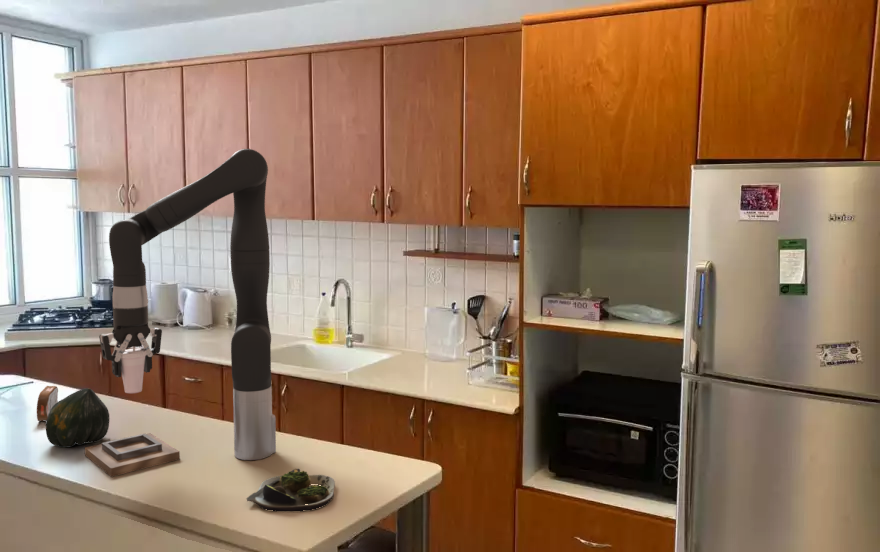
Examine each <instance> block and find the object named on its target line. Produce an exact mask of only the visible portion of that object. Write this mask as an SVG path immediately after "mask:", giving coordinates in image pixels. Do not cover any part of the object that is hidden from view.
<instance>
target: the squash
mask: <svg viewBox="0 0 880 552" xmlns="http://www.w3.org/2000/svg"><path fill="white" fill-rule="evenodd" d="M109 427H110V412H109V409H108V407H107V406H106V404H105V403H104V402H103V401H102V400H101V398H100V397H99V396H98V394H97V393H96V392H95V391H94V390H93V389H91V388H90V387H87V388H82V389H79V390H76V391H75V392H73V393H71V394H68V396H66V397H63V399H61V400H59V401H58V402H57V403H56V404H55V405H54V406H53V407H52V408H51V410H50V412H49V415H48V418H47V420H46V421H45V433H46V437H47V440H48V442H49V443H50V444H51V445H53V446H55V447H64V448H71V447H74V445H79V446H80V445H83V444H89V443H95V442H99V441H101V440H103V439H104V438H105V436H106V435H107V433H108V432H109V429H110V428H109Z"/></svg>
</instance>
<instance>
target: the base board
mask: <svg viewBox="0 0 880 552" xmlns="http://www.w3.org/2000/svg"><path fill="white" fill-rule="evenodd" d="M84 455H85V457H86V458H88V459H89V460H90V461H92V462H93V463H94V464H95V465H96V466H98V467H99V468H100V469H101V470H102V471H103V472H105V473H106V474H107V475H108V476H110V477H115V476H120V475H123V474H128V473H131V472H134V471H138V470H143V469H147V468H150V467H151V468H152V467H155V466H158V465H162V464H166V463H170V462H174V461H178V460H180V459H181V456H180V455H181V452H180V450H178V449H177V448H175V447H173V446H172V445H170V444H169V443H167V442H165V441H164V440H162V439H161V438H159V437H157V436H155V435H154V434H153V433H151V432H149V433H140V434H136V435H132V436H126V437H123V438H118V439H114V440H110V441H105V442H102V443H100V444H95V445H90V446H86V447H84Z"/></svg>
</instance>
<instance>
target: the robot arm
mask: <svg viewBox="0 0 880 552" xmlns="http://www.w3.org/2000/svg"><path fill="white" fill-rule="evenodd" d="M268 172H269V166H268V163H267V160H266V158H265V157H264V156H263V155H262V153H260V152H259V151H257V150H255V149H252V148H242V149H239V150H237V151H235V152H234V153H233V154H232V155H231V156H230V157H229V158H227V160H225V161H224V162H222V163H221V165H219V166H218V167H216V168H215V169H214V170H212V171H211V172H209V173H208V174H205V176H203V177H201V178H199V179H198V180H195V181H194V182H192V183H189V184H187V185H185V186H184V187H182V188H179V189H178V190H175V191H174V192H171V193H170V194H168V195H166V196H164V197H162V198H161V199H158V200H157V201H154V202H153V203H152V204H150V205H149V206H148V207H147V208H146V209H145V210H142V211H140V212H138V213H137V214H135V215H132V216H131V217H129V218H126V219H124V220H118V221H117V222H115V223H114V224H113V225H112V226H111V227H110V229H109V235H108V243H109V250H110V256H111V262H112V266H113V267H112V268H113V269H112V283H113V285H112V286H113V287H112V315H113V317H112V318H113V323H112V325H113V329H112V332H110V333H101V334H99V343H100V349H101V355H102V358H103V359H104V360H107V361H111V369H112V370H111V372H112V374H113V375H114V376H115V377H116V378H122V372H121V362H120V358H121V356H122V355H121V354H123V353H124V352H125V350H126V349H132V348H133V347H135V348H138V349H141V350H142V349H143V350H144V351H146V353H147V355H146V356H145V364H144V373H150V372H151V370H152V369H153V356H155V355H156V354H159V353H160V352H161V346H162V345H161V343H162V335H163V329H162V328H158V327H153V328H150V327H149V297H148V290H147V274H146V266H145V262H144V261H143V245H145V244H146V243H148V242H150V241H151V240H153V239H155V238H156V237H158V236H159V235H161V234H162V233H164V232H167V231H169V230H171V229H173V228H175V227H177V226H179V225H180V224H182V223H184V222H185V221H187V220H189V219H190V218H193V217H194V216H196V215H197V214H198V213H200V212H202V211H203V210H204V209H206V208H207V207H209V206H210V205H212V204H214V203H215V202H217V201H219V200H220V199H223V198H225V197H226V196H229V195H233V204H234V205H233V217H232V224H231V230H230V231H231V232H230V243H229V244H230V251H229V252H230V253H229V254H230V270H231V278H232V285H233V289H234V293H235V299H236V317H235V329H234V333H233V335H232V338H231V341H230V342H231V343H230V361H231V362H230V363H231V364H230V365H231V378H232V396H233V397H232V401H233V403H232V404H233V437H234V438H233V441H234V442H233V443H234V446H233V451H234V457H235V458H236V459H239V460H243V461H254V460H261V459H265V458H269V456H271V455H272V454H275V453H276V451H277V442H276V441H277V439H276V437H277V436H276V435H277V433H276V431H277V430H276V427H277V426H276V415H275V414H273V396H272V394H273V393H272V390H273V389H272V387H273V386H272V364H271V363H272V361H271V360H272V356H271V350H272V349H271V348H272V347H271V344H272V333H271V330H270V329H271V328H270V322H269V314H268V291H269V283H270V282H269V281H270V265H271V264H270V263H271V262H270V257H271V256H270V239H269V238H270V237H269V228H268V222H267V216H266V207H265V206H266V204H265V203H266V201H265V200H266V187H267V179H268V174H269V173H268ZM149 335H150V337H151V345H149V343H148V342H147V340H146V339H147V338H148V337H149ZM112 339H114V341H116V343H115V345H114V347H113V352H112V350H111V343H112V342H113V341H112Z"/></svg>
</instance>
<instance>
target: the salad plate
mask: <svg viewBox="0 0 880 552" xmlns="http://www.w3.org/2000/svg"><path fill="white" fill-rule="evenodd" d="M335 482H336V481H335V479H334V478H333V477H331V476H329V475H326V474H310V475H309V474H308V472H307V471H304V470H302V471H301V469H300V468H294V469H292V470H291V471H288V472H287V473H284V474H283V475H277V476H273V477H270V478H267V479H265V480H263V481H262V483H260V485H259V488H258V490H257V491H256V492H253V493H252V494H250V495H249V496H248V497H246V502H252V504H255V505H257V507H259V508H261V509H262V508H263V509H262V510H265V509H267V510H266V511H268V510H273V511H272V512H277V511H300V512H304V511H303V510H310V511H313V510H312V509H315V510H317V509H316V508H319V507H321V508H323V507H325V506H327V505H328V504H329V503H330V502H331V501H332V500H333V499H334V496H335ZM311 484H318V486H317V485H311ZM309 485H310V486H309ZM319 485H321V486H319ZM305 504H308V505H305ZM326 504H327V505H326ZM324 505H325V506H324ZM322 506H323V507H322ZM319 509H320V508H319Z"/></svg>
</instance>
